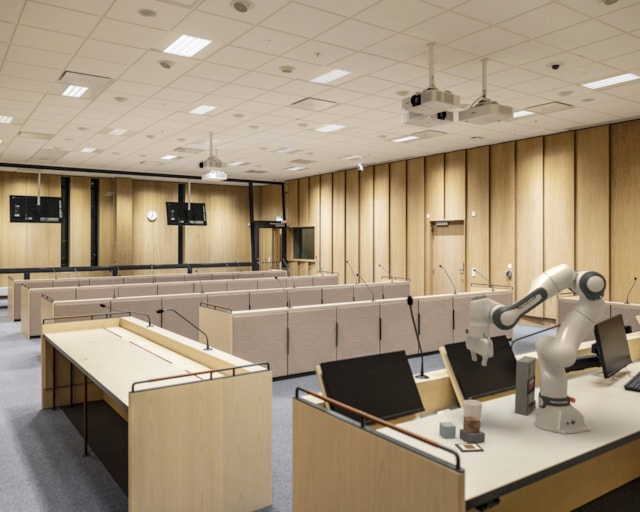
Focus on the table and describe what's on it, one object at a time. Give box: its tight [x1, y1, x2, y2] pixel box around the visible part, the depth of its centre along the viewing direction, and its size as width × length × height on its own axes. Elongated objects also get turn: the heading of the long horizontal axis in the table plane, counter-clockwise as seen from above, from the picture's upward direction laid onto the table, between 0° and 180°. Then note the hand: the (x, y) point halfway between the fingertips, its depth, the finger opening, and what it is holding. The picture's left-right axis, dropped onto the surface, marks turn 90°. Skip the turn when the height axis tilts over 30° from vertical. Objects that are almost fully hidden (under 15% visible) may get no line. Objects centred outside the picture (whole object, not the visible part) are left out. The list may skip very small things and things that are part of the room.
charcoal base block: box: [459, 428, 486, 444], centre depth 214 cm, size 7×7×4 cm
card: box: [454, 443, 485, 453], centre depth 206 cm, size 9×7×1 cm
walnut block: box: [462, 416, 481, 433], centre depth 215 cm, size 5×5×5 cm
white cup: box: [462, 399, 483, 421], centre depth 232 cm, size 8×8×10 cm
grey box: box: [514, 355, 537, 416], centre depth 252 cm, size 14×6×25 cm, turn 143°
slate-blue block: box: [439, 421, 457, 439], centre depth 218 cm, size 5×5×5 cm
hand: (479, 363), depth 236 cm, fingers open, 8 cm apart
